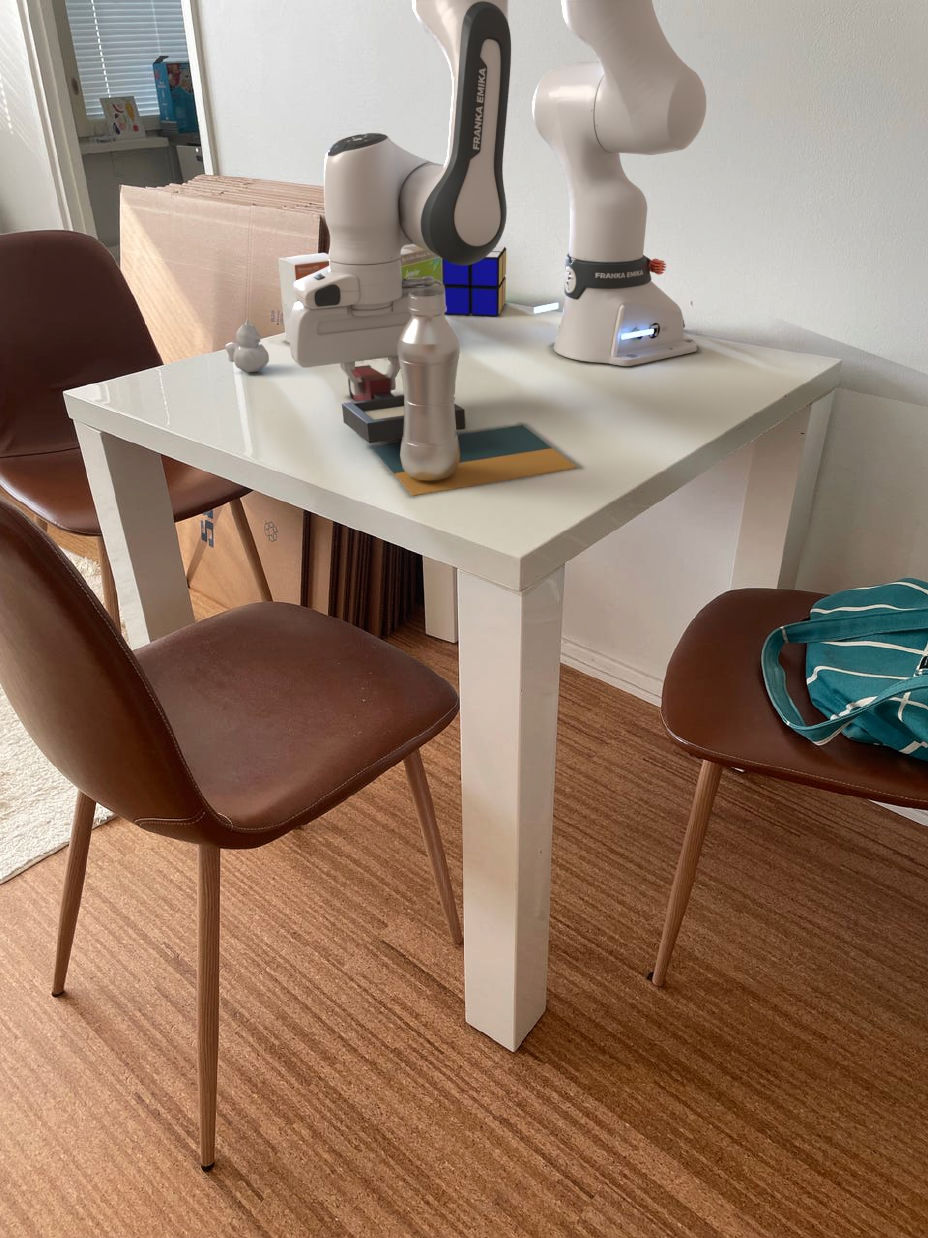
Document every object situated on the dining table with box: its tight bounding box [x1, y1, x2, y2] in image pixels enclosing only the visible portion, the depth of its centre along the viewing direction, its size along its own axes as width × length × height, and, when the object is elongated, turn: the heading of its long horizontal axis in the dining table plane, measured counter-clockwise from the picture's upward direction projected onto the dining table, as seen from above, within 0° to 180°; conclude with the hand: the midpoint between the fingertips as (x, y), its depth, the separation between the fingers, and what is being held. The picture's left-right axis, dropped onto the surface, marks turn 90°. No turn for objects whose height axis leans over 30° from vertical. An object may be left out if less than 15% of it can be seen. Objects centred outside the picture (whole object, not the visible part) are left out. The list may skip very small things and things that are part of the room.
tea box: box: [401, 244, 442, 284], centre depth 150 cm, size 15×10×15 cm
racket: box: [341, 364, 466, 444], centre depth 118 cm, size 24×12×4 cm, turn 22°
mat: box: [372, 424, 578, 497], centre depth 110 cm, size 20×15×1 cm
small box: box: [277, 252, 329, 344], centre depth 148 cm, size 8×6×13 cm
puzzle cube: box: [441, 246, 507, 317], centre depth 167 cm, size 10×10×10 cm
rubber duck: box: [224, 316, 270, 373], centre depth 137 cm, size 5×7×8 cm
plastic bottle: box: [397, 289, 461, 481], centre depth 100 cm, size 6×7×20 cm
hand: (373, 391), depth 123 cm, fingers closed on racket, 3 cm apart
